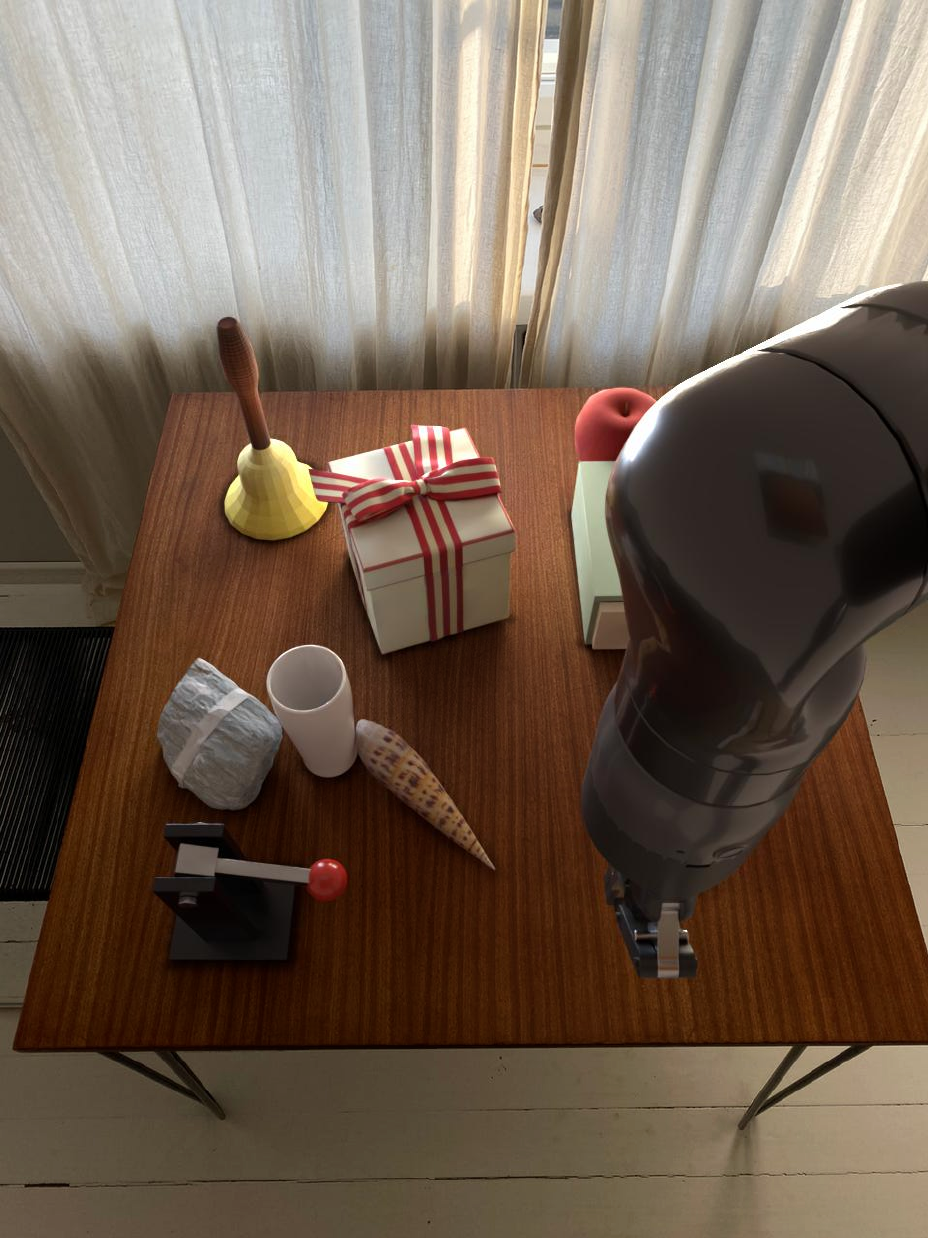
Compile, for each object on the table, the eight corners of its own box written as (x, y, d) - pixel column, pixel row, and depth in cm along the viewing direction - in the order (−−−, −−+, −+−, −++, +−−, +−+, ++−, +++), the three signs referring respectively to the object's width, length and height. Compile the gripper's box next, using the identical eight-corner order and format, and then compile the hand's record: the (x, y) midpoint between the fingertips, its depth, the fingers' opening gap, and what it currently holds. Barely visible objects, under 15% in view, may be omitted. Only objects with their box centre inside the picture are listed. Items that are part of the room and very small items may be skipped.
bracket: (299, 869, 79) (264, 804, 65) (289, 963, 74) (249, 913, 61) (188, 869, 79) (131, 804, 66) (172, 963, 74) (107, 912, 61)
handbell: (343, 471, 105) (311, 293, 85) (307, 549, 99) (263, 376, 78) (248, 452, 107) (195, 273, 86) (207, 528, 101) (137, 353, 80)
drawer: (721, 683, 88) (739, 647, 82) (596, 685, 88) (605, 649, 82) (689, 523, 99) (702, 482, 93) (578, 525, 99) (585, 483, 93)
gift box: (454, 497, 103) (451, 383, 89) (521, 616, 94) (530, 511, 79) (317, 543, 99) (290, 432, 85) (372, 671, 90) (353, 571, 76)
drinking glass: (295, 726, 87) (265, 647, 74) (364, 719, 87) (345, 639, 74) (296, 790, 83) (264, 718, 70) (367, 783, 83) (348, 709, 71)
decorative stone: (307, 751, 85) (296, 724, 80) (232, 832, 81) (216, 808, 76) (213, 681, 89) (198, 650, 84) (137, 754, 85) (116, 726, 80)
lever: (342, 868, 70) (353, 856, 68) (339, 908, 69) (350, 897, 66) (177, 847, 66) (182, 834, 64) (169, 890, 65) (174, 878, 62)
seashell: (381, 725, 87) (376, 701, 82) (509, 858, 79) (511, 839, 75) (346, 753, 85) (339, 730, 81) (473, 892, 77) (473, 874, 73)
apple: (672, 500, 102) (693, 427, 93) (585, 517, 101) (597, 444, 91) (640, 435, 108) (657, 360, 99) (557, 450, 107) (566, 375, 97)
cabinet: (716, 642, 92) (737, 594, 84) (584, 644, 92) (594, 596, 84) (689, 512, 101) (706, 459, 94) (571, 514, 101) (578, 461, 94)
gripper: (580, 623, 38) (550, 782, 52) (606, 941, 30) (563, 1022, 45) (753, 623, 38) (675, 782, 52) (822, 941, 30) (709, 1023, 45)
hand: (624, 893), depth 48 cm, fingers closed
